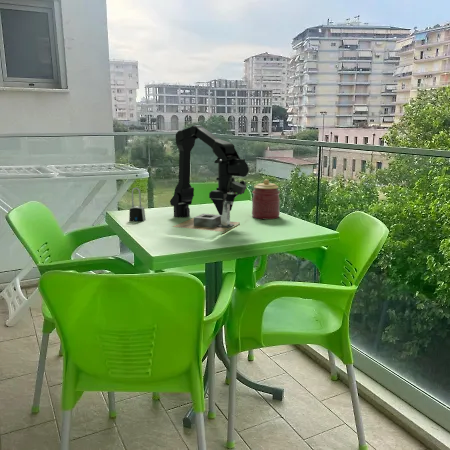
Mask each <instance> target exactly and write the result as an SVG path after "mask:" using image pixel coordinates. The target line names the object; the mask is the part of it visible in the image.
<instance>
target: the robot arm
mask: <svg viewBox="0 0 450 450" xmlns="http://www.w3.org/2000/svg"><path fill="white" fill-rule="evenodd" d="M198 139H199V140H200V141H202V142H203V143H204V144H205V145H207V146H209V148H211V149H212V152H213V154H214V155H215V156H216V159H215V160H214V164H217V177H216V181H217V186H218V187H216V189H214V190H211V191H210V192H209V194H208V195H209V196H208V198H209V199H210V200H211V201H212V203H213V204H214V206H215V208H216V211H217V212H218V215H222V213H223V205H224V202H225V201H231V202H233V204H232V205H231V204H230V212H231V211H232V208H233V205H234V202H235V199H236V198H237V197H238V196H240V195H243V194H245V192H246V190H247V189H248V188H247V186H248V185H247V182H246V181H245V180H241V181H240V182H239V181H236V178H235V177H240V178H241V177H242V178H243V177H246V176H248V174H249V170H250V169H249V164H248V163H247V162H246V158H241V157H240V155H239V153H238V152H237V150H236V148H235V144H233V143H232V142H229V141H226V140H223V139H220V138H219V137H217V136H216V135H214V134H213V133H212V132H211V131H209V130H207V129H206V128H205V127H204V126H203V125H201V124H200V125H199V124H198V125H196V124H195V125H191V126H190V127H188V128H185V129H182V130H177V132H176V133H175V145H176V147H177V149H178V151H179V153H178V156H179V157H178V183H177V185H176V187H175V188H174V194H173V196H172V197H171V199H170V200H169V204H170V206H171V207H173V217H175V218H189V217H190V216H191V214H190V210H191V209H190V205H192V202H193V198H194V196H195V194H194V193H195V192H194V191H195V189H194V187H193V186H192V185H191V183H190V179H191V178H190V176H191V155H192V154H191V152H192V150H193V148H194V147H195V144H196V143H195V142H196V140H198Z"/></svg>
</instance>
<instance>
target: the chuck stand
mask: <svg viewBox="0 0 450 450" xmlns="http://www.w3.org/2000/svg"><path fill="white" fill-rule="evenodd" d="M238 226H241V222H240V221H231V220H230V225H229V226H221V215H219V214H214V213H213V214H212V213H201V214H199V215H196V216H194V217H193V218H190V219H187V220H185V221H182V222H180V223H178V224H175V225H173V226H172V227H174V228H181V229H193V230H202V231H211V232H212V231H214V232H222V233H221V234H222V235H224V234H226V233H228V232H229V231H232V230H233V229H235V228H237V227H238Z"/></svg>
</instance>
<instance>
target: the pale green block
mask: <svg viewBox="0 0 450 450" xmlns="http://www.w3.org/2000/svg"><path fill="white" fill-rule="evenodd" d="M230 204H231V205H232V204H233V205H234V202H231V201H225V202H224V205H223V213H222V215H221V226H229V225H230V221H231V211H230Z"/></svg>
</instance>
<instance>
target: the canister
mask: <svg viewBox="0 0 450 450" xmlns="http://www.w3.org/2000/svg"><path fill="white" fill-rule="evenodd" d="M253 188H254V189H253V190H252V191H251V193H252V198H251V200H252V201H251V202H252V205H251V207H252V209H251V215H252V218H255V219H259V220H273V219H278V218H279V217H280V214H281V212H280V204H281V203H280V200H281V198H280V194H281V191H280V190H279V186H278V185H277V184H276V183H271V182H270V180H269V179H264V180H263V182H262V183H261V182H260V183H259V182H258V183H257V184H255V185H254V186H253Z"/></svg>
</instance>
